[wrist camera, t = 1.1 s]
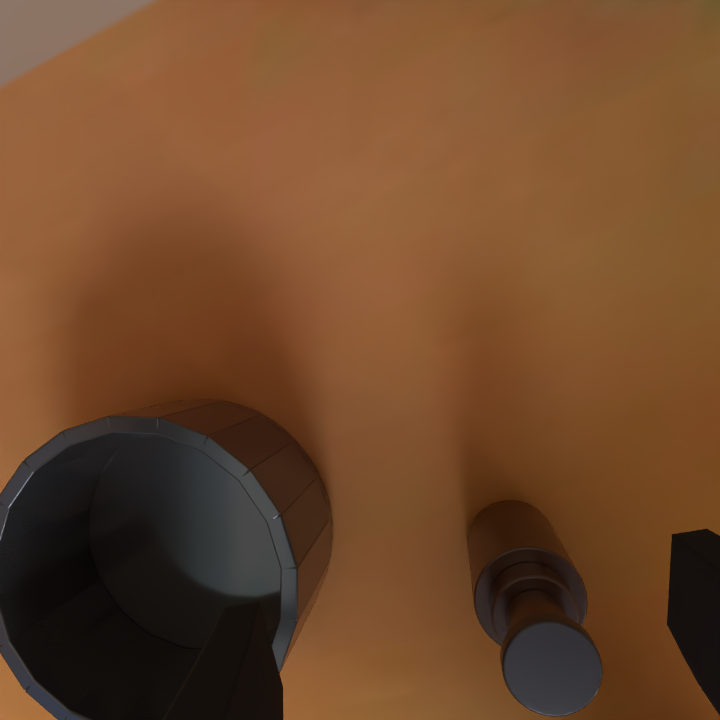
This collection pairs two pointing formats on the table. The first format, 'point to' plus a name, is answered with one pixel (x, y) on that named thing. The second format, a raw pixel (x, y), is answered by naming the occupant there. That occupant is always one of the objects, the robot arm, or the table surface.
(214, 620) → the brown round cylinder
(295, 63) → the table surface
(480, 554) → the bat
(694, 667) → the robot arm
